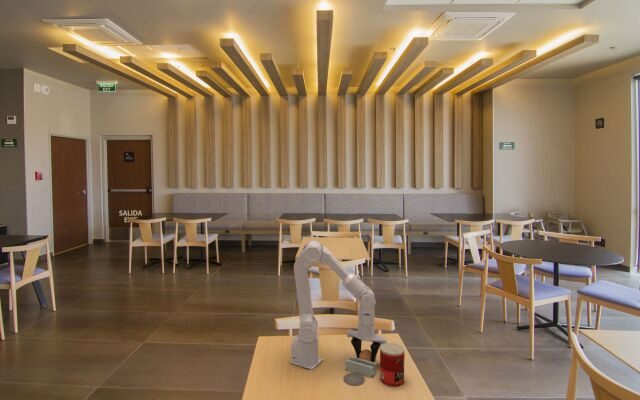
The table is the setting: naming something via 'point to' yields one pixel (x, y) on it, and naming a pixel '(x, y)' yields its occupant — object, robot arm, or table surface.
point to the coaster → (354, 379)
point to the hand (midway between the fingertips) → (366, 359)
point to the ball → (365, 355)
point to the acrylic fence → (361, 366)
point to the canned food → (392, 364)
